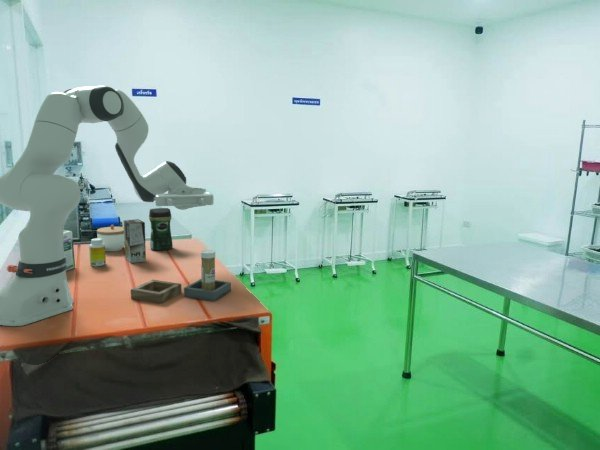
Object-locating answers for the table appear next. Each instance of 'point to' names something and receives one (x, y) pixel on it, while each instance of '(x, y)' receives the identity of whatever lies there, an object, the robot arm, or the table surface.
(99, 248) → the supplement bottle
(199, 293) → the tray
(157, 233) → the coffee jar
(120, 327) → the table surface
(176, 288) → the socket block
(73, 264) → the syrup box
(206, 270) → the sprinkles bottle
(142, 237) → the coffee box
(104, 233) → the lidded bowl
